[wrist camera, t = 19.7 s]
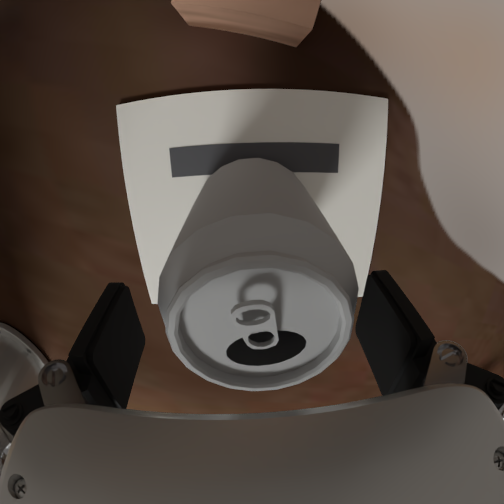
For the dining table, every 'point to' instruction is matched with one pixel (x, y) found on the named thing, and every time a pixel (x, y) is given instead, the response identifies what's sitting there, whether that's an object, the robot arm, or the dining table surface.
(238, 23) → the brown block
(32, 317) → the dining table surface
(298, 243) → the can
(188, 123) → the letter card
